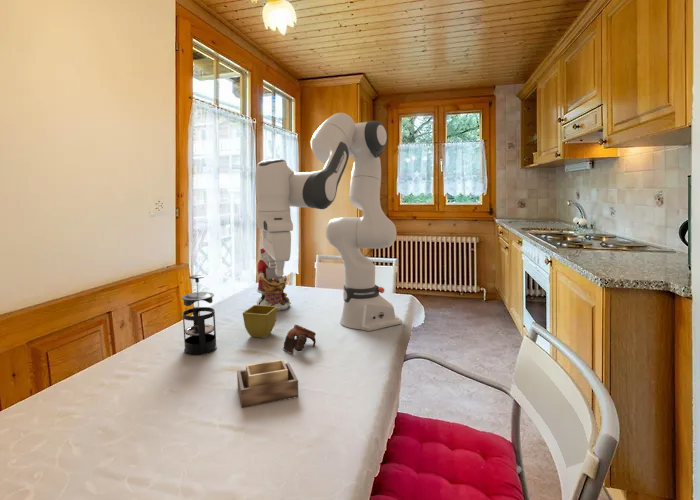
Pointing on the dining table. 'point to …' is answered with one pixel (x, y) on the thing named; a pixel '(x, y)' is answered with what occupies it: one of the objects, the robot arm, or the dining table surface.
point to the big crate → (267, 390)
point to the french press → (199, 323)
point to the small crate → (266, 373)
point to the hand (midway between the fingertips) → (276, 271)
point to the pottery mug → (298, 339)
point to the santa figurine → (271, 285)
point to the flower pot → (260, 320)
